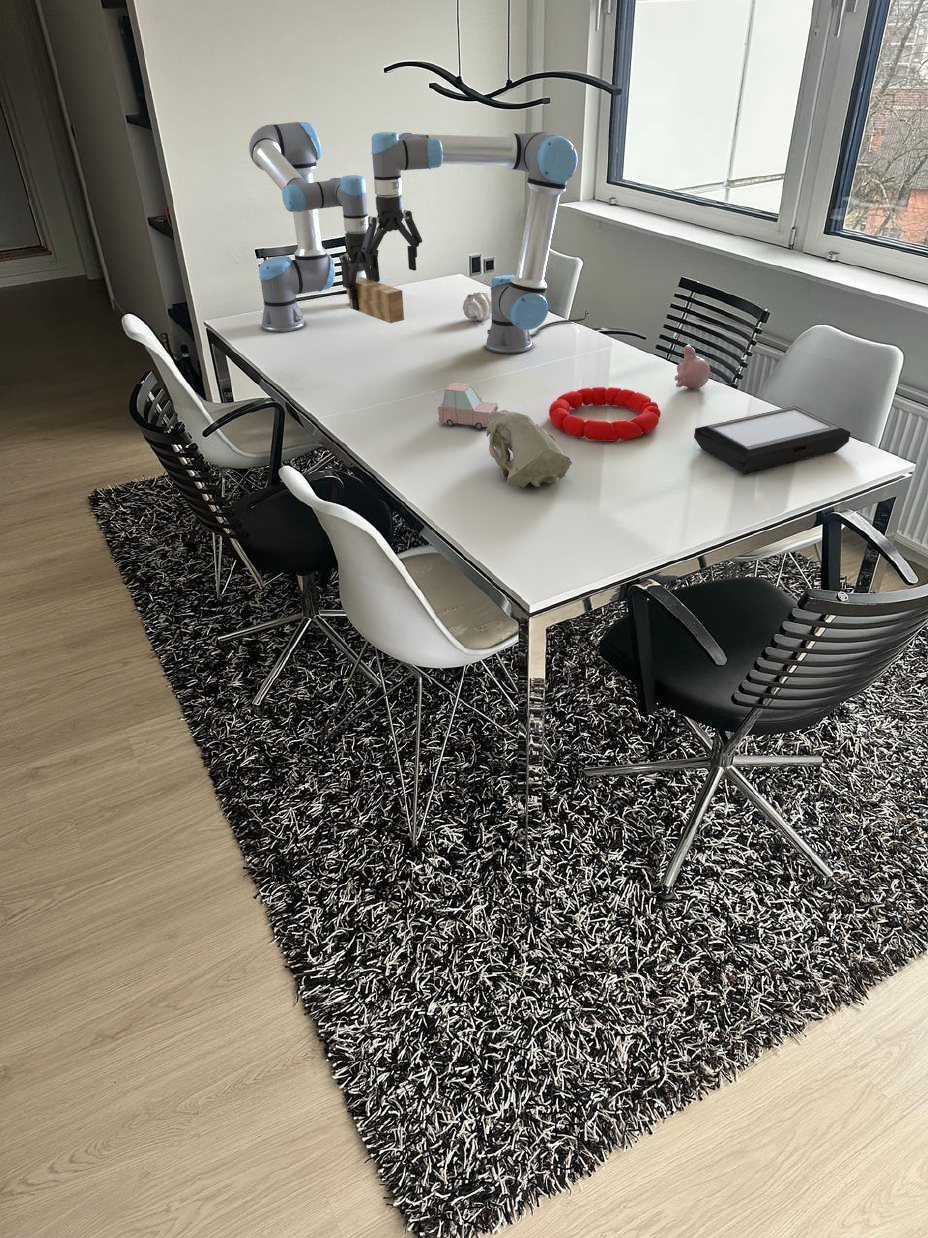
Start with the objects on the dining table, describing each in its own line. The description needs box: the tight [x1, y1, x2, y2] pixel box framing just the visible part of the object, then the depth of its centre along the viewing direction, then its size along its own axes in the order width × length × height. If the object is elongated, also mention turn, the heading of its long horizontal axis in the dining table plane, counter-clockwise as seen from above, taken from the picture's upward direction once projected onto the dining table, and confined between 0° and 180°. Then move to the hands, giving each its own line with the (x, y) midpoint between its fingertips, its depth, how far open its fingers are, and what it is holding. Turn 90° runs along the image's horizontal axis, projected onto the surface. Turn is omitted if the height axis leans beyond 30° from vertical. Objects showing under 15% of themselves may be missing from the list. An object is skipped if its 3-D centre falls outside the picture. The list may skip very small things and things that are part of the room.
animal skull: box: [485, 409, 573, 489], centre depth 216 cm, size 17×25×20 cm
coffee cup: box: [345, 261, 367, 304], centre depth 344 cm, size 10×10×15 cm
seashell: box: [462, 292, 492, 322], centre depth 323 cm, size 10×15×10 cm
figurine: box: [674, 344, 711, 390], centre depth 259 cm, size 9×11×12 cm
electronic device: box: [693, 405, 852, 475], centre depth 223 cm, size 32×6×20 cm
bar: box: [349, 277, 405, 324], centre depth 283 cm, size 23×5×9 cm, turn 39°
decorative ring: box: [548, 386, 661, 442], centre depth 242 cm, size 7×30×30 cm
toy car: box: [437, 382, 499, 431], centre depth 243 cm, size 9×15×10 cm, turn 70°
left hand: (363, 307), depth 290 cm, fingers closed on bar, 5 cm apart
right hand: (394, 273), depth 262 cm, fingers open, 13 cm apart
